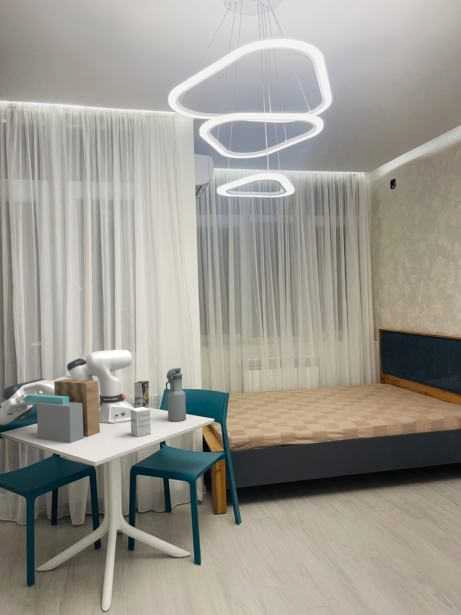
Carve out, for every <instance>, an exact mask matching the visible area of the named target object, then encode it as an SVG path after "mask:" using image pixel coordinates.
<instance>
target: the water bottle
mask: <svg viewBox="0 0 461 615" xmlns="http://www.w3.org/2000/svg"><path fill="white" fill-rule="evenodd" d="M181 371H182V369H181V367H176V368H171V369H169V370H168V371H167V373H166V379H167V381H166V382H165V391H166V392H167V419H168V421H169V422H171V423H172V422H173V423H174V422H175V423H176V422H183V421H185V420H186V419H187V408H186V406H187V405H186V403H187V402H186V392H185V391H184V390H183V373H181ZM168 384H169V389H168Z"/></svg>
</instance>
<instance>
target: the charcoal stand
mask: <svg viewBox="0 0 461 615" xmlns="http://www.w3.org/2000/svg"><path fill="white" fill-rule="evenodd" d="M36 420H37V426H36V427H37V439H41V440H48V441H54V442H62V443H69V444H73V443H74V442H77V441H80V440H83V439H84V436H83V410H82V403H76V402H69V403H66V404H52V403H40V402H38V403H36Z"/></svg>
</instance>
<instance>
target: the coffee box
mask: <svg viewBox="0 0 461 615" xmlns="http://www.w3.org/2000/svg"><path fill="white" fill-rule="evenodd" d="M149 383H150V382H149V380H140V381H136V382H134V383H133V387H134V388H133V389H134V393H133V394H134V408H139V407H145V408H148V407H150V388H149V387H150V384H149Z"/></svg>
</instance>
